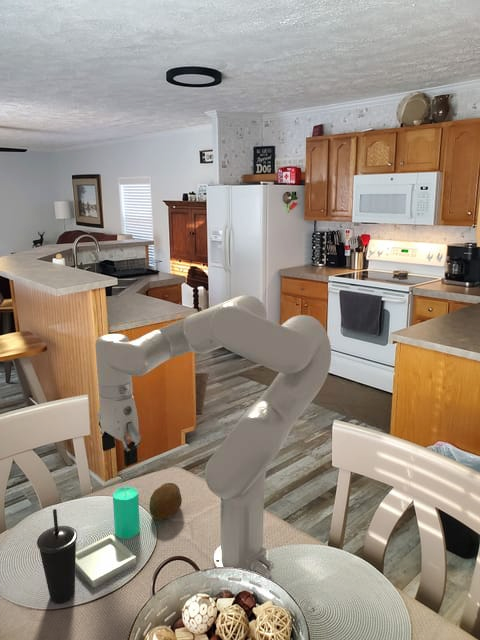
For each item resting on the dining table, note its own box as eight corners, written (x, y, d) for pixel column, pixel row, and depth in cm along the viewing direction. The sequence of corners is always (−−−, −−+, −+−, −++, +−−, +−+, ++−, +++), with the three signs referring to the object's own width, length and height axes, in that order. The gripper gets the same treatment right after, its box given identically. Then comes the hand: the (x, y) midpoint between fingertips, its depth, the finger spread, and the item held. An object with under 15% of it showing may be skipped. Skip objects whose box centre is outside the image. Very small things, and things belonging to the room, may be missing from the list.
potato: (185, 500, 138) (184, 474, 136) (178, 529, 126) (177, 502, 124) (155, 499, 138) (154, 474, 136) (145, 528, 126) (144, 501, 124)
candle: (134, 540, 122) (131, 496, 119) (110, 536, 123) (108, 492, 120) (143, 524, 128) (141, 482, 125) (121, 521, 129) (118, 479, 126)
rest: (136, 563, 114) (135, 556, 114) (93, 588, 107) (92, 580, 107) (111, 540, 122) (111, 534, 121) (70, 562, 115) (69, 555, 114)
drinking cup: (60, 577, 110) (52, 495, 105) (89, 587, 108) (83, 503, 103) (34, 602, 103) (25, 516, 98) (65, 614, 101) (56, 526, 96)
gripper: (151, 394, 113) (154, 464, 117) (110, 374, 125) (114, 438, 129) (121, 404, 107) (125, 476, 112) (82, 382, 120) (87, 448, 124)
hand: (119, 456), depth 120 cm, fingers open, 9 cm apart
